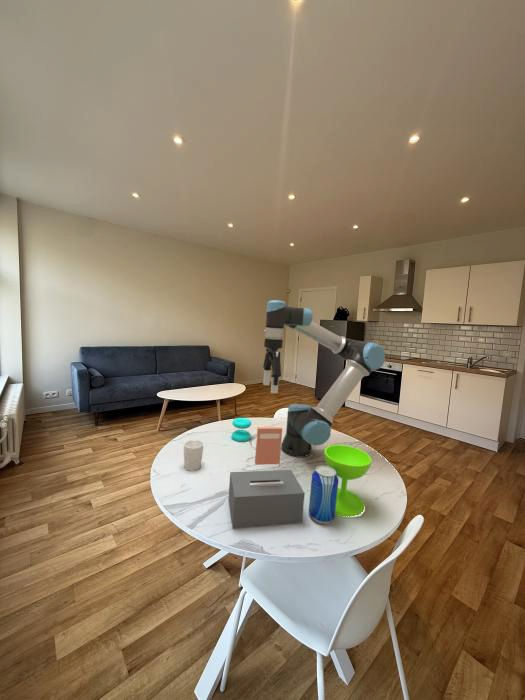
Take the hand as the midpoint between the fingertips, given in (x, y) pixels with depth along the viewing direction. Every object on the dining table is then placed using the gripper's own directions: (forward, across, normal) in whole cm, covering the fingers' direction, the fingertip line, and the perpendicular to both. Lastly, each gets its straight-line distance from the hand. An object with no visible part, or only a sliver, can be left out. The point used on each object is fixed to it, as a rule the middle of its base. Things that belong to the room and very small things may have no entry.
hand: (270, 388), depth 119 cm
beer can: (+35, +33, +12) cm, 49 cm away
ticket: (+18, +28, -7) cm, 34 cm away
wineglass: (+35, +27, +23) cm, 50 cm away
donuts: (+35, -30, -6) cm, 47 cm away
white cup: (+35, -3, -30) cm, 46 cm away
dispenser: (+35, +28, -7) cm, 45 cm away
